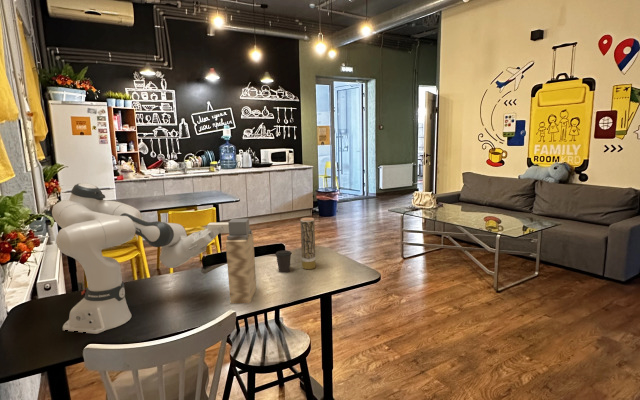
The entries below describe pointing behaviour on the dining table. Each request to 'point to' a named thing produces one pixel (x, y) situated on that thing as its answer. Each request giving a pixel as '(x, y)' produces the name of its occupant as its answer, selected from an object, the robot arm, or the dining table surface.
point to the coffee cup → (283, 260)
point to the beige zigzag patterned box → (241, 267)
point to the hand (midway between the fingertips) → (224, 226)
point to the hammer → (232, 227)
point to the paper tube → (308, 243)
